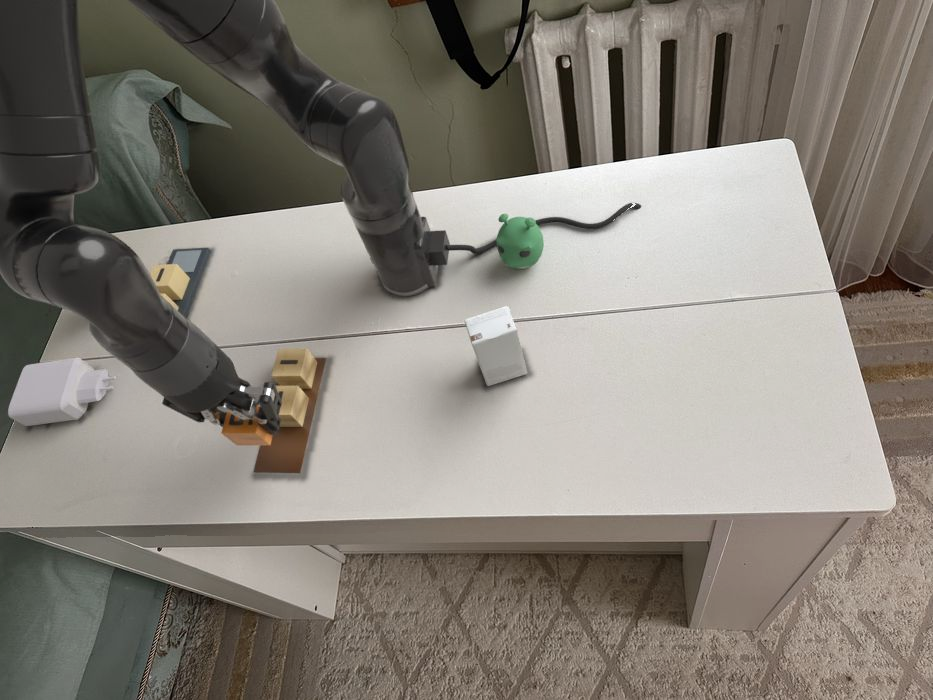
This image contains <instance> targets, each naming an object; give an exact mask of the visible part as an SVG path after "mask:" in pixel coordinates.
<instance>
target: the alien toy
mask: <svg viewBox="0 0 933 700" xmlns="http://www.w3.org/2000/svg"><path fill="white" fill-rule="evenodd" d="M497 220H498V222H499V223H503V224H502V225H501V226H500V228H499V229H498V232H497V236H496V239H497V240H496V239H495V240H496V242H497V245H496V250H497V252H498V256H499V257H500V259H501V260H502V261H503V263H504V265H505V267H508V268H513V269H515V270H526V269H529V268H531V267H533V266H535V264H537V262H538V261H539V260H540V258H541V257H542V254H543V251H544V247H545V245H544V235H543V233H542V230H541V228H540V227H539V225H538V226H537V224H536V219H535V218H533V217H530V216H529V217H526V216H515V217H511V218H509V214H508V213H502V214H500V215H499V216H498V219H497Z"/></svg>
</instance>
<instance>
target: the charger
mask: <svg viewBox="0 0 933 700" xmlns="http://www.w3.org/2000/svg"><path fill="white" fill-rule="evenodd" d="M19 375H20V376H19V378H18V381H17V383H16V386H15V389H14V392H13V394H12V397H11V400H10V403H9V405H8V411H7V416H8V417H9V418H10V419H12V420H14V421H15V422H17V423H19V424H21V425H23V426H25V427H30V426H37V425H45V424H51V423H61V422H68V421H75V420H79V419H80V418H81V417H82V416H84V414H85V413H86V412H87V409H88V406H89V403H93V402H99V401H101V400H102V399H103V398H104V396H106V393H107V391H109V390H113V389H114V386H113V385H109V383H110V381H114V380H116V379H117V377H116V375H115V376H109V371H108V369H107V368H103V369H102V368H101V369H94V367H93V366H91V365H90V364H89V363H87V362H86V361H84V360H83V359H82V358H80V357H72V358H65V359H58V360H52V361H51V360H50V361H45V362H44V361H43V362H37V363H31V364H26V365H24V367H23V368H22V371H21V373H20V374H19ZM108 385H109V386H108Z"/></svg>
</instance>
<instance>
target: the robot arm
mask: <svg viewBox="0 0 933 700" xmlns="http://www.w3.org/2000/svg"><path fill="white" fill-rule="evenodd" d="M124 1H125V2H126V3H128V4H129V5H131V6H132V7H133V8H134V9H136V10H137V11H138V12H140V14H142V15H144V17H146V19H148V20H149V21H150V22H152V23H153V24H154V25H155V26H156V27H157V28H159V29H160V30H161V31H162V32H163V33H164V34H166V35H167V36H168V37H169V38H171V39H172V40H173V41H174V42H175V43H177V44H178V45H180V47H182V48H183V49H184V50H185V51H187V52H188V53H190V55H192V56H194V58H196V59H197V60H198V61H200V62H201V63H203V64H204V65H205V66H206V67H208V68H210V69H211V70H212V71H214V72H216V73H217V74H218V75H219V76H221V77H223V78H224V79H225V80H227V81H228V82H229V83H231V84H232V85H234V86H235V87H237V88H239V89H240V90H241V91H243V92H245V93H247V94H248V95H250V96H252V97H253V98H255V99H256V100H258V101H259V102H261V103H262V104H263V105H264V106H266V108H268V109H269V110H270V111H271V112H272V113H273V114H274V115H275V116H276V117H277V118H278V119H279V120H280V121H281V122H282V123H283V124H285V126H286V127H287V128H288V129H289V130H290V131H291V133H293V134H294V135H295V136H296V137H297V138H298V139H299V140H300V141H301V143H302V144H303V145H304V146H306V147H307V148H308V149H309V150H310V151H311V152H313V153H314V154H316V155H317V156H319V157H321V158H322V159H325V160H327V161H329V162H331V163H333V164H335V165H337V166H339V167H341V168H343V169H344V170H345V172H346V175H345V176H344V178H343V180H342V182H341V185H340V196H341V198H342V201H343V203H344V205H345V208H346V210H347V212H348V214H349V217H350V218H351V220H352V222H353V225H354V227H355V229H356V230H357V233H358V235H359V237H360V239H361V242H362V243H363V245H364V247H365V249H366V252H367V254H368V256H369V259H370V261H371V264H373V267H374V269H375V270H376V273H377V274H378V277H379V280H380V282H381V284H382V286H383V288H384V289H385V290H386V291H387V292H388V293H390V294H392V295H394V296H398V297H412V296H415V295H417V294H420V293H422V292H424V291H426V290H427V289H428V288H435V287H436V285H437V278H438V273H439V266H447V265H448V262H449V261H448V260H449V253H450V251H467V252H470V253H472V254H474V255H479V254H482V253H485V252H487V251H489V250H491V249H493V248H495V247H497V242H496V240H497V238H496V239H494V240H493V241H491V242H489V243H487V244H485V245H483V246H480V247H475V246H473V245H469V244H451V243H450V240H449V236H448V233H447V230H445V229H443V230H431V228H430V225H429V222H428V219H427V217H426V216H421V214H420V210H419V208H418V205H417V203H416V202H417V201H416V199H415V196H414V192H413V190H412V188H411V185H410V184H411V183H410V181H409V177H410V164H409V163H410V162H409V158H408V155H407V151H406V148H405V143H404V140H403V137H402V131H401V129H400V125H399V123H398V120H397V117H396V115H395V112H394V111H393V109H392V107H391V106H390V104H389V103H388V102H387V101H386V100H384V99H383V98H381V97H380V96H377V95H375V94H373V93H370V92H368V91H365V90H363V89H360V88H357V87H355V86H352V85H349V84H347V83H345V82H343V81H340V80H339V79H337V78H335V77H333V76H332V75H330V74H329V73H328V72H326V71H325V70H324V69H323V68H321V67H319V66H318V65H317V64H316V63H315V62H314V61H313V60H311V58H309V57H308V56H306V54H304V52H303V51H302V50H300V48H299V47H298V46H297V45H296V42H294V40H293V38H292V35H291V33H290V30H289V28H288V25H287V23H286V21H285V17H284V16H283V14H282V12H281V9H280V8H279V5H277V3H276V1H275V0H124ZM79 22H80V20H79V5H78V0H0V276H1V278H2V279H3V280H4V282H5V283H6V284H7V286H8V287H9V288H10V289H11V290H12V291H13V292H15V293H16V294H18V295H20V296H22V297H24V298H26V299H28V300H32V301H35V302H39V303H43V304H46V305H49V306H53V307H57V308H60V309H63V310H65V311H69V312H72V313H74V314H76V315H77V316H78V317H80V318H82V319H84V320H86V321H87V322H88V329H89V332H90V334H91V336H92V337H93V338H94V340H95V342H96V343H98V345H99V346H100V347H102V348H103V350H105V351H106V352H107V353H108V354H110V355H111V356H113V357H114V358H115V359H116V360H118V361H119V362H121V364H123V365H125V366H126V367H127V368H129V369H130V370H131V371H132V373H134V374H135V376H136V377H137V378H139V380H141V382H143V383H145V385H147V386H149V388H151V389H152V390H154V391H155V392H156V393H157V394H159V395H160V396H162V397H163V399H162V403H161V404H162V405H163V406H166V407H167V408H169V409H171V410H173V411H175V412H177V413H179V414H181V415H182V416H185V417H187V418H189V419H191V420H192V421H195V422H197V423H204V422H205V420H208V421H209V423H210V424H212V425H219V426H220V427H221V428H223V425H224V422H225V418H226V415H227V412H229V413H231V414H233V415H235V416H237V417H238V418H240V419H242V420H246V419H251V420H253V421H255V422H256V423H258V424H259V425H260V426H261V427H262V428H263V429H264V430H266V431H267V432H268V433H269V434H270V435H276V434H277V431H279V427H280V423H281V419H280V418H279V417H278V416H279V412H280V408H281V405H282V401H281V398H280V396H279V393H278V391H277V388H276V384H275V383H274V382H271V381H265V382H264V383H263V386H262V387H259V386H251V384H250V382H248V381H247V380H245V379H243V378H241V377H239V376H238V372H237V370H236V367H235V364H234V362H233V360H232V359H231V358H230V356H229V355H227V354H226V353H225V352H224V351H223V350H222V349H221V347H219V346H218V345H217V344H216V342H214V341H213V340H212V339H211V338H210V337H209V336H208V335H207V334H206V333H205V332H204V331H203V330H202V329H201V328H199V327H198V326H197V324H195V323H194V322H192V321H190V320H189V319H188V318H187V317H186V318H185V317H184V316H183V315H181V314H180V313H179V312H178V311H177V310H176V309H175V308H174V307H173V306H172V305H171V304H170V303H169V302H168V301H167V300H166V299H165V298H164V297H163V296H161V295H160V293H159V291H158V288H157V286H156V284H155V282H154V281H153V279H152V277H151V275H150V271H149V270H148V268H147V267H146V265H145V263H144V262H143V260H142V259H141V257H140V256H139V255H138V254H137V253H136V251H135V250H133V249H132V247H130V245H128V244H127V243H126V242H124V240H122V239H120V238H119V237H117V236H116V235H114V234H112V233H110V232H108V231H106V230H103V229H102V228H101V229H100V228H97V227H92V226H88V225H83V224H79V223H76V222H75V215H74V208H75V195H79V194H84V193H86V192H88V191H90V190H93V188H95V187H96V186H97V184H98V183H99V181H100V175H101V174H100V173H101V172H100V171H101V170H100V159H99V154H98V153H99V152H98V149H97V142H96V140H97V139H96V135H95V129H94V122H93V117H92V113H91V112H92V111H91V106H90V101H89V95H88V89H87V83H86V76H85V69H84V63H83V54H82V45H81V35H80V23H79ZM632 203H633V202H629V203H627V204H625V205H623V206H622V207H620V208H619V209H618V210H617V211H616V212H614V213H613V214H612V215H611V216H608V218H606V219H605V220H603V221H600V222H595V223H586V222H581V221H577V220H574V219H571V218H568V217H567V218H566V217H561V216H552V217H551V216H549V217H544V218H539V219H535V221H536V224H537V226H538V227H539V226H540V225H546V224H551V223H552V224H553V223H557V224H559V223H560V224H564V225H567V226H568V225H569V226H572V227H575V228H579V229H583V230H598V229H603V228H604V227H607V226H609V225H610V224H612V223H614V221H616V220H617V219H618V218H619V217H621V216H622V215H623V214H624V213H625V212H627V211H628V210H627V209H628V208H630V207H631V206H632V205H633V204H632ZM634 203H635V204H636V205H635V206H634V207H632V208H630V209H629V210H631V209H636V210H639V209H641V208H642V205H641V204H640V203H638V202H634ZM626 210H627V211H626ZM622 213H623V214H622ZM621 214H622V215H621ZM618 216H619V217H618ZM617 217H618V218H617ZM616 218H617V219H616ZM614 219H615V220H614ZM613 220H614V221H613ZM256 406H258V407H259V410H258V414H257V413H256V412H255V409H256ZM243 408H244V409H243ZM242 409H243V410H242Z"/></svg>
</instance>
